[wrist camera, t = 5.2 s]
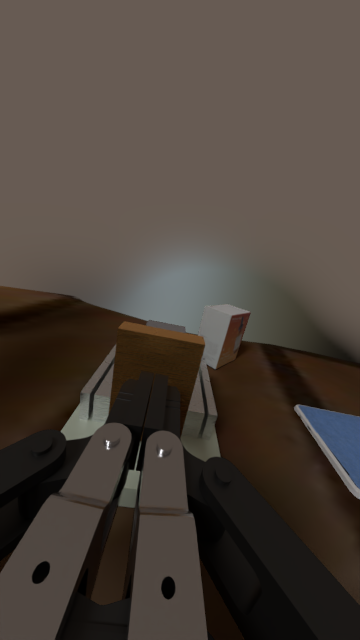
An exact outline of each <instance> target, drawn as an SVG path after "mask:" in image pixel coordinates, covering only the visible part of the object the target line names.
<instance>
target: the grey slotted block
mask: <svg viewBox="0 0 360 640" xmlns="http://www.w3.org/2000/svg"><path fill="white" fill-rule="evenodd" d="M115 351H116V345H115V346H114V348H113V349H112V350H111V352H110V353H109V354H108V356H107V357H106V358H105V360H104V361H103V363H102V364H101V365H100V367H99V368H98V369H97V371H96V372H95V373H94V375H93V376H92V378H91V379H90V380H89V382H88V383H87V384H86V386H85V387H84V388H83V390H82V391H81V395H80V412H79V419H83V420H88V419H89V417H90V416H91V414H92V412H93V417H92V421H95V422H101V423H105V422H106V419H107V417H108V413H109V405H110V396H111V387H112V378H113V369H114V360H115ZM216 419H217V411H216V407H215V402H214V397H213V393H212V388H211V384H210V379H209V375H208V370H207V366H206V361H205V360H201V363H200V367H199V371H198V374H197V378H196V382H195V386H194V389H193V393H192V397H191V401H190V404H189V408H188V412H187V416H186V419H185V423H184V427H183V431H182V434H181V436H187V437H193V438H198V434H199V431H201V439H205V440H210V437H211V434H212V431H213V428H214V425H215V422H216Z"/></svg>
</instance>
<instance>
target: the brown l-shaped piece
mask: <svg viewBox="0 0 360 640" xmlns="http://www.w3.org/2000/svg"><path fill="white" fill-rule="evenodd" d="M204 348H205V341H204V338H203V336H197V335H192V334H187V333H182V332H177V331H171V330H166V329H161V328H156V327H151V326H145V325H140V324H135V323H130V322H125V321H124V322H123V323H122V324H121V325H120V327H119V328H118V334H117V343H116V351H115V360H114V369H113V378H112V387H111V396H110V405H109V413H110V411H111V408H112V406H113V404H114V402H115V400H116V398H117V395H118V393H119V391H120V389H121V387H122V384H123V383H125V382H126V381H127V380H128V379H135V380H138V379H139V376H140V373H141V371H145V372H151V373H154V379H155V374H156V373H157V374H162V375H168V376H169V378H168V385H169V386H175V387H177V388H178V390H179V392H180V438H181V434H182V431H183V427H184V423H185V419H186V416H187V412H188V408H189V404H190V401H191V397H192V393H193V389H194V386H195V382H196V378H197V374H198V371H199V367H200V363H201V359H202V356H203V352H204ZM154 379H153V383H154ZM152 388H153V384H152ZM151 392H152V390H151ZM150 397H151V395H150ZM149 402H150V400H149ZM148 406H149V405H148ZM147 411H148V410H147ZM109 413H108V415H109ZM146 415H147V414H146ZM145 420H146V419H145ZM144 425H145V423H144ZM143 429H144V428H143ZM142 435H143V432H142ZM141 440H142V437H141Z"/></svg>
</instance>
